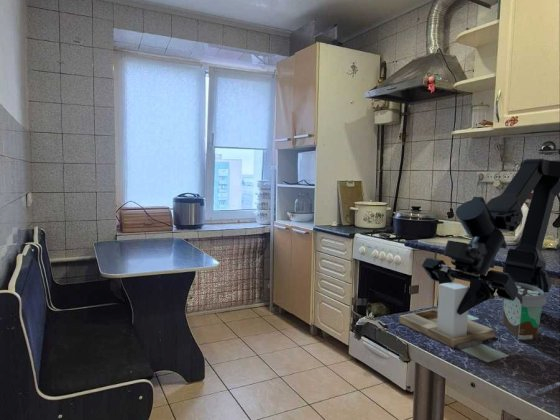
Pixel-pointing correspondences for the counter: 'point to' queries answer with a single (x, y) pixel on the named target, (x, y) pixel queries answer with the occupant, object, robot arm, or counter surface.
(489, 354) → the puzzle board
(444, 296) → the tall white block
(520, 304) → the food container
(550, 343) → the counter surface
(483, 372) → the counter surface
